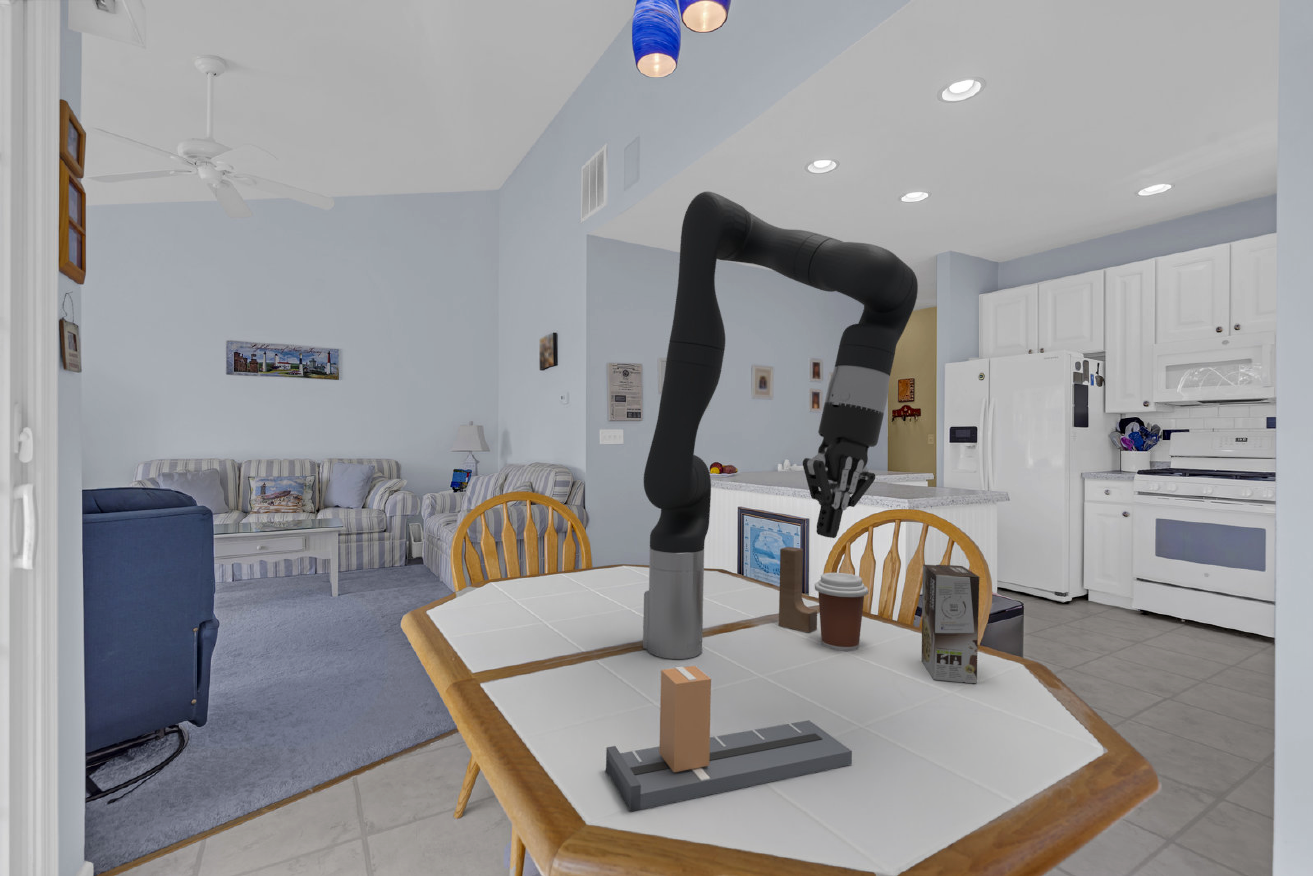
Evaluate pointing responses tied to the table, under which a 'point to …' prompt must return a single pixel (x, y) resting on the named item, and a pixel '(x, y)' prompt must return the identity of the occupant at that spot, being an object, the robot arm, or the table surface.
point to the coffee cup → (840, 610)
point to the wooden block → (793, 593)
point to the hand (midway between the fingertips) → (825, 536)
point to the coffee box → (950, 622)
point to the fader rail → (726, 764)
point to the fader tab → (685, 718)
